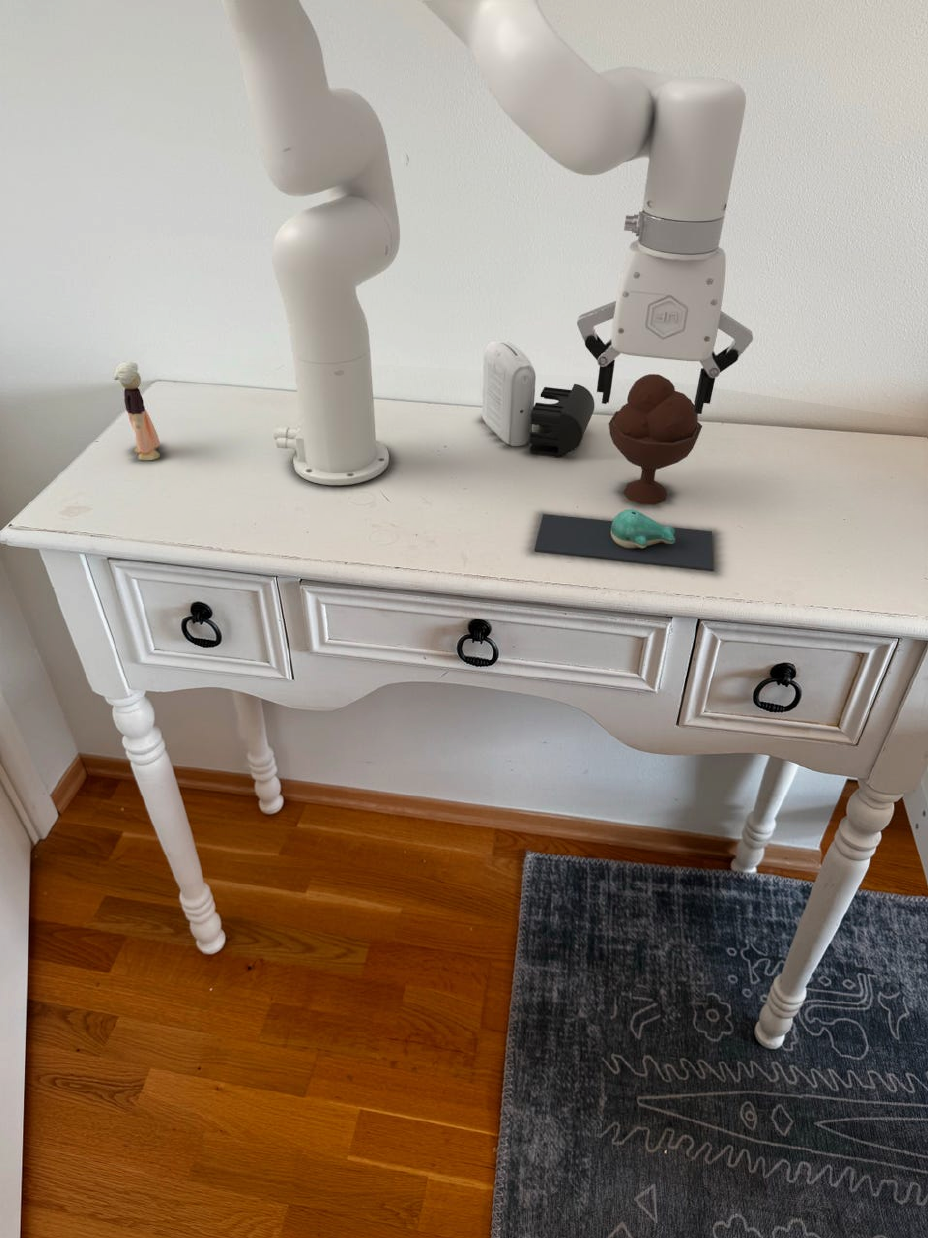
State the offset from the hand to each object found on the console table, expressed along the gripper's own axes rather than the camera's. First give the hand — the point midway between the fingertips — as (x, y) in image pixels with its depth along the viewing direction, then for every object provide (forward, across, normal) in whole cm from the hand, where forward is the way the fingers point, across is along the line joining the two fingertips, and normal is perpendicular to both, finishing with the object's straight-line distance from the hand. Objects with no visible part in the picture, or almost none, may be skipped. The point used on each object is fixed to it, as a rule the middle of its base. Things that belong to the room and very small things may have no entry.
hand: (651, 403), depth 94 cm
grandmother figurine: (+18, -66, +8) cm, 69 cm away
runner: (+17, 0, -1) cm, 17 cm away
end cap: (+17, -11, +23) cm, 30 cm away
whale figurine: (+17, +1, -1) cm, 17 cm away
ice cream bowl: (+17, +1, +11) cm, 20 cm away
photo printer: (+18, -19, +25) cm, 36 cm away
